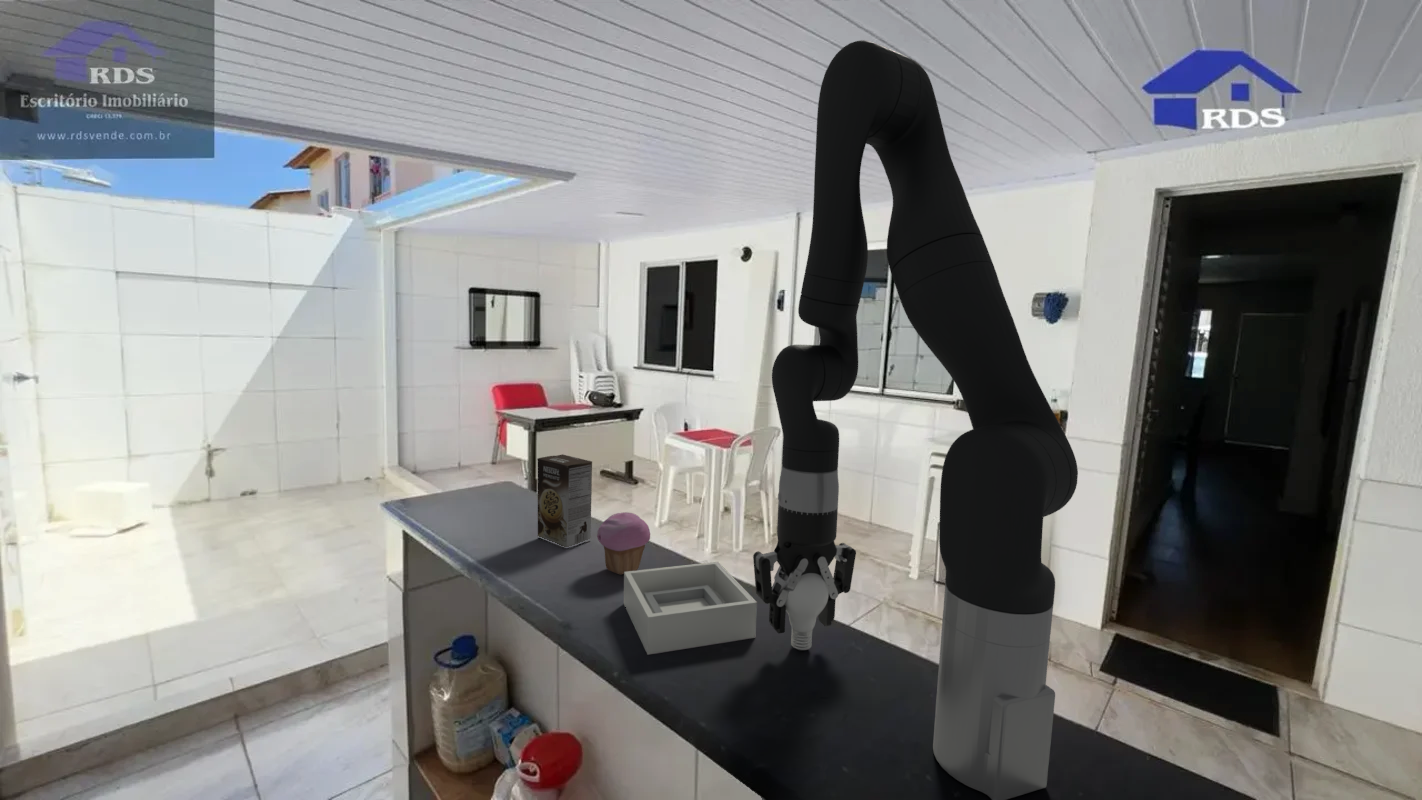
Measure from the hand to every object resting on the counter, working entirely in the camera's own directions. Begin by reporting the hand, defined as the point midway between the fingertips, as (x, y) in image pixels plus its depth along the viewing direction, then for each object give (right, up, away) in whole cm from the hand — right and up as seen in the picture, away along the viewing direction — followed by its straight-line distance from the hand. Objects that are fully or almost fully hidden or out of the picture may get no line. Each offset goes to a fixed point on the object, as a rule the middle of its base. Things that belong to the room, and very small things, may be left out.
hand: (802, 626), depth 78 cm
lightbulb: (0, -3, 0) cm, 3 cm away
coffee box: (-41, +2, +39) cm, 56 cm away
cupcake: (-27, 0, +24) cm, 36 cm away
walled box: (-15, -2, +7) cm, 17 cm away
